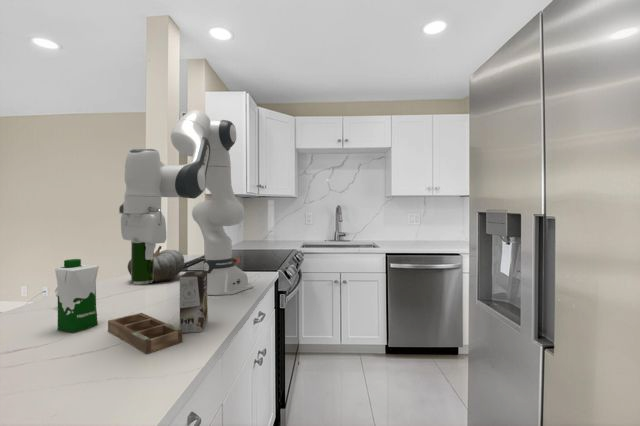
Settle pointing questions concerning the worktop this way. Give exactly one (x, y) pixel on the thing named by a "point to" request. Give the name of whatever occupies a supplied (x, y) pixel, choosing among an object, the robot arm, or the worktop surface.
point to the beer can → (141, 264)
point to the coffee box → (193, 301)
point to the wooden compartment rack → (145, 332)
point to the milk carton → (76, 296)
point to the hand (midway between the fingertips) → (143, 258)
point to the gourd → (165, 264)
